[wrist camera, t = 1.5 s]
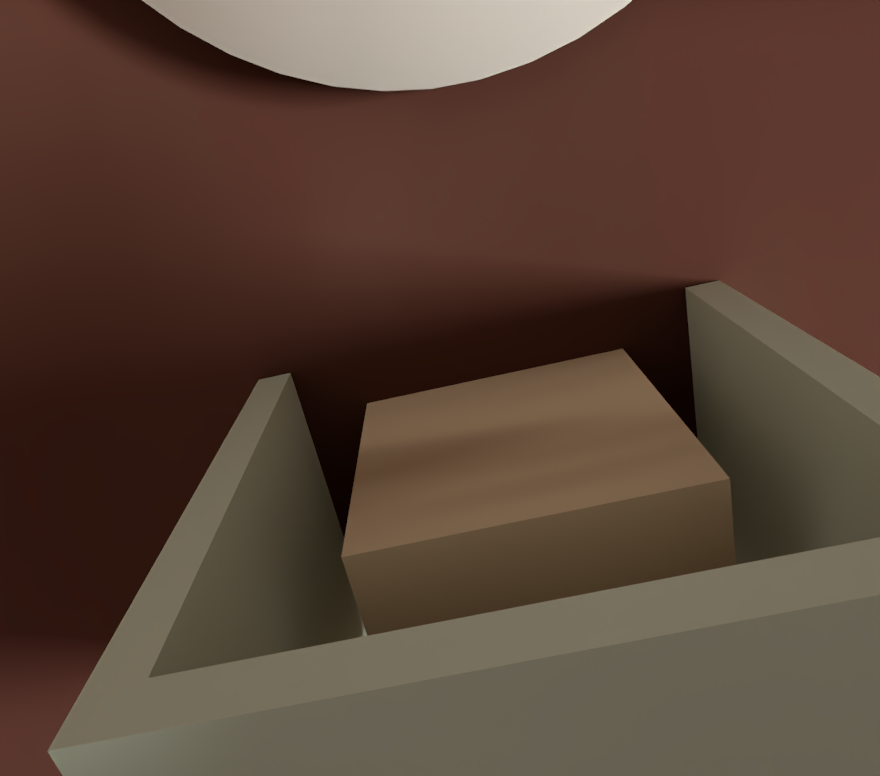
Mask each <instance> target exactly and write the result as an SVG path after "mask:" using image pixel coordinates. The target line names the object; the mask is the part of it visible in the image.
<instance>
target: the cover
mask: <svg viewBox="0 0 880 776" xmlns="http://www.w3.org/2000/svg"><path fill="white" fill-rule="evenodd" d="M685 292H686V304H687V317H688V329H689V341H690V354H691V366H692V378H693V391H694V403H695V415H696V428H697V439H698V440H699V441H700V443H701V444H702V445H703V446H704V447H705V449H706V450H707V451H708V452H709V453H710V455H711V456H712V457H713V458H714V460H715V461H716V462H717V463H718V464H719V466H720V467H721V468H722V469H723V470H724V472H725V473H726V474H727V475H728V476H729V478H730V484H731V499H732V514H733V530H734V545H735V560H736V565H733V566H727V567H722V568H717V569H712V570H707V571H701V572H696V573H691V574H686V575H681V576H676V577H670V578H665V579H660V580H655V581H650V582H644V583H639V584H634V585H629V586H624V587H618V588H613V589H608V590H603V591H598V592H592V593H587V594H582V595H577V596H572V597H566V598H561V599H556V600H551V601H546V602H540V603H535V604H530V605H525V606H520V607H515V608H509V609H504V610H499V611H494V612H489V613H483V614H478V615H473V616H468V617H463V618H457V619H452V620H447V621H442V622H437V623H431V624H426V625H421V626H416V627H411V628H405V629H400V630H395V631H390V632H385V633H379V634H374V635H369V636H367V633H366V630H365V627H364V624H363V621H362V618H361V615H360V612H359V609H358V606H357V603H356V600H355V597H354V594H353V591H352V588H351V585H350V582H349V579H348V576H347V573H346V570H345V567H344V564H343V561H342V558H341V555H342V549H343V544H344V536H343V533H342V530H341V527H340V524H339V521H338V517H337V514H336V511H335V508H334V505H333V502H332V499H331V496H330V493H329V490H328V487H327V484H326V480H325V477H324V474H323V471H322V468H321V465H320V462H319V459H318V456H317V453H316V450H315V447H314V443H313V440H312V437H311V434H310V431H309V428H308V425H307V422H306V419H305V416H304V413H303V410H302V407H301V403H300V400H299V397H298V394H297V391H296V388H295V385H294V382H293V379H292V376H291V373H287V374H283V375H278V376H273V377H269V378H264V379H259V380H258V382H257V384H256V385H255V387H254V389H253V391H252V392H251V394H250V396H249V398H248V400H247V401H246V403H245V405H244V407H243V408H242V410H241V412H240V414H239V415H238V417H237V419H236V421H235V422H234V424H233V426H232V428H231V429H230V431H229V433H228V435H227V436H226V438H225V440H224V442H223V443H222V445H221V447H220V449H219V450H218V452H217V454H216V456H215V458H214V459H213V461H212V463H211V465H210V466H209V468H208V470H207V472H206V473H205V475H204V477H203V479H202V480H201V482H200V484H199V486H198V487H197V489H196V491H195V493H194V494H193V496H192V498H191V500H190V501H189V503H188V505H187V507H186V508H185V510H184V512H183V514H182V516H181V517H180V519H179V521H178V523H177V524H176V526H175V528H174V530H173V531H172V533H171V535H170V537H169V538H168V540H167V542H166V544H165V545H164V547H163V549H162V551H161V552H160V554H159V556H158V558H157V559H156V561H155V563H154V565H153V566H152V568H151V570H150V572H149V574H148V575H147V577H146V579H145V581H144V582H143V584H142V586H141V588H140V589H139V591H138V593H137V595H136V596H135V598H134V600H133V602H132V603H131V605H130V607H129V609H128V610H127V612H126V614H125V616H124V617H123V619H122V621H121V623H120V624H119V626H118V628H117V630H116V632H115V633H114V635H113V637H112V639H111V640H110V642H109V644H108V646H107V647H106V649H105V651H104V653H103V654H102V656H101V658H100V660H99V661H98V663H97V665H96V667H95V668H94V670H93V672H92V674H91V675H90V677H89V679H88V681H87V683H86V684H85V686H84V688H83V690H82V691H81V693H80V695H79V697H78V698H77V700H76V702H75V704H74V705H73V707H72V709H71V711H70V712H69V714H68V716H67V718H66V719H65V721H64V723H63V725H62V726H61V728H60V730H59V732H58V733H57V735H56V737H55V739H54V741H53V742H52V744H51V746H50V748H49V749H48V753H49V754H50V756H51V758H52V759H53V761H54V763H55V764H56V766H57V767H58V769H59V771H60V772H61V774H62V776H880V377H879V376H877V375H876V374H874V373H872V372H871V371H869V370H867V369H866V368H864V367H862V366H861V365H859V364H857V363H856V362H854V361H852V360H851V359H849V358H847V357H846V356H844V355H842V354H841V353H839V352H837V351H836V350H834V349H832V348H831V347H829V346H827V345H826V344H824V343H822V342H821V341H819V340H818V339H816V338H814V337H813V336H811V335H809V334H808V333H806V332H804V331H803V330H801V329H799V328H798V327H796V326H794V325H793V324H791V323H789V322H788V321H786V320H784V319H783V318H781V317H779V316H778V315H776V314H774V313H773V312H771V311H769V310H768V309H766V308H764V307H763V306H761V305H759V304H758V303H756V302H754V301H753V300H751V299H749V298H748V297H746V296H744V295H743V294H741V293H739V292H738V291H736V290H734V289H733V288H731V287H729V286H728V285H726V284H724V283H723V282H721V281H720V280H718V281H714V282H709V283H704V284H700V285H695V286H691V287H686V288H685Z"/></svg>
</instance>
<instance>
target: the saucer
mask: <svg viewBox="0 0 880 776" xmlns="http://www.w3.org/2000/svg"><path fill="white" fill-rule="evenodd" d="M142 1H143V2H145V3H146V4H148V5H149V6H150V7H152V8H153V9H155V10H156V11H158V12H159V13H160V14H162V15H163V16H165V17H166V18H167V19H169V20H170V21H172V22H173V23H174V24H176V25H177V26H179V27H180V28H182V29H184V30H186V31H187V32H189V33H191V34H193V35H195V36H197V37H199V38H200V39H202V40H204V41H206V42H208V43H210V44H211V45H213V46H215V47H217V48H219V49H221V50H223V51H224V52H226V53H228V54H230V55H233V56H235V57H238V58H240V59H243V60H246V61H248V62H251V63H253V64H256V65H259V66H261V67H264V68H266V69H269V70H271V71H274V72H277V73H279V74H283V75H287V76H291V77H295V78H300V79H304V80H308V81H312V82H316V83H321V84H325V85H329V86H335V87H342V88H353V89H363V90H374V91H384V92H388V91H409V90H430V89H436V88H441V87H446V86H452V85H457V84H462V83H467V82H472V81H477V80H480V79H483V78H486V77H489V76H492V75H495V74H498V73H501V72H504V71H507V70H510V69H512V68H515V67H518V66H521V65H524V64H527V63H530V62H532V61H534V60H536V59H538V58H540V57H542V56H544V55H546V54H548V53H550V52H552V51H554V50H556V49H558V48H560V47H562V46H564V45H566V44H568V43H570V42H572V41H574V40H576V39H578V38H580V37H581V36H583V35H584V34H586V33H587V32H588V31H590V30H591V29H593V28H594V27H596V26H597V25H599V24H600V23H602V22H603V21H605V20H606V19H608V18H609V17H611V16H612V15H613V14H615V13H616V12H618V11H619V10H621V9H622V8H624V7H625V6H626V5H627V4H628V3H630V2H631V1H632V0H142Z"/></svg>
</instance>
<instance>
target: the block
mask: <svg viewBox="0 0 880 776" xmlns="http://www.w3.org/2000/svg"><path fill="white" fill-rule="evenodd" d="M341 558H342V561H343V564H344V567H345V570H346V573H347V576H348V579H349V582H350V585H351V588H352V591H353V594H354V597H355V600H356V603H357V606H358V609H359V612H360V615H361V618H362V621H363V624H364V627H365V630H366V633H367V636H369V635H374V634H379V633H385V632H390V631H395V630H400V629H405V628H411V627H416V626H421V625H426V624H431V623H437V622H442V621H447V620H452V619H457V618H463V617H468V616H473V615H478V614H483V613H489V612H494V611H499V610H504V609H509V608H515V607H520V606H525V605H530V604H535V603H540V602H546V601H551V600H556V599H561V598H566V597H572V596H577V595H582V594H587V593H592V592H598V591H603V590H608V589H613V588H618V587H624V586H629V585H634V584H639V583H644V582H650V581H655V580H660V579H665V578H670V577H676V576H681V575H686V574H691V573H696V572H701V571H707V570H712V569H717V568H722V567H727V566H733V565H736V560H735V545H734V530H733V514H732V499H731V484H730V478H729V476H728V475H727V474H726V473H725V472H724V470H723V469H722V468H721V467H720V466H719V464H718V463H717V462H716V461H715V460H714V458H713V457H712V456H711V455H710V453H709V452H708V451H707V450H706V449H705V447H704V446H703V445H702V444H701V443H700V441H699V440H698V439H697V438H696V437H695V435H694V434H693V433H692V432H691V431H690V429H689V428H688V427H687V426H686V424H685V423H684V422H683V421H682V420H681V418H680V417H679V416H678V415H677V414H676V412H675V411H674V410H673V409H672V408H671V406H670V405H669V404H668V403H667V402H666V400H665V399H664V398H663V397H662V395H661V394H660V393H659V392H658V391H657V389H656V388H655V387H654V386H653V385H652V383H651V382H650V381H649V380H648V379H647V377H646V376H645V375H644V374H643V373H642V371H641V370H640V369H639V368H638V366H637V365H636V364H635V363H634V362H633V360H632V359H631V358H630V357H629V356H628V354H627V353H626V352H625V351H624V350H623V349H619V350H614V351H609V352H605V353H600V354H595V355H591V356H586V357H581V358H577V359H572V360H567V361H563V362H558V363H553V364H549V365H544V366H539V367H535V368H530V369H525V370H521V371H516V372H511V373H507V374H502V375H497V376H492V377H488V378H483V379H478V380H474V381H469V382H464V383H460V384H455V385H450V386H446V387H441V388H436V389H432V390H427V391H422V392H418V393H413V394H408V395H404V396H399V397H394V398H390V399H385V400H380V401H376V402H371V403H367V406H366V412H365V418H364V424H363V430H362V436H361V442H360V448H359V454H358V460H357V466H356V472H355V478H354V484H353V490H352V496H351V502H350V508H349V514H348V520H347V526H346V532H345V538H344V544H343V549H342V555H341Z"/></svg>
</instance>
